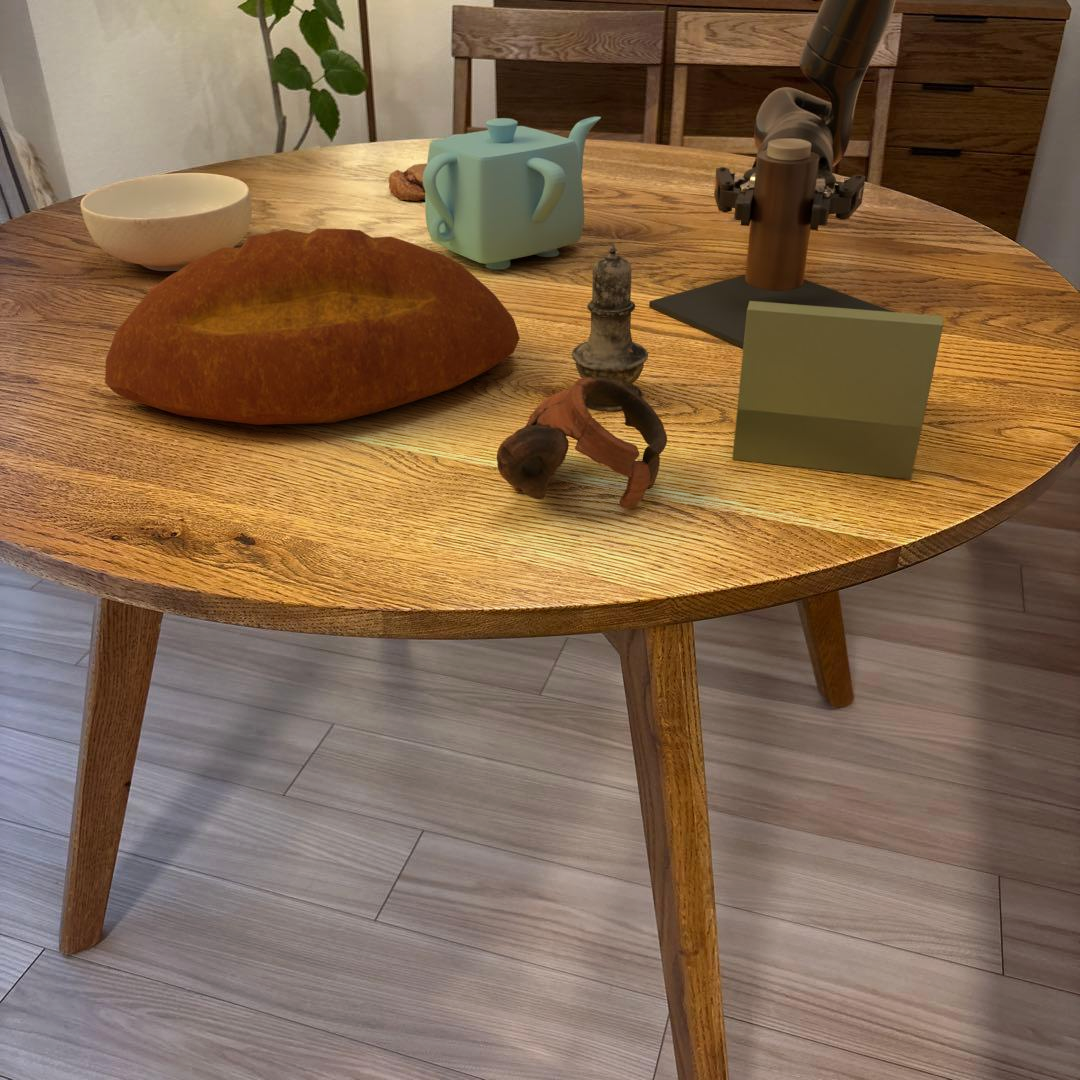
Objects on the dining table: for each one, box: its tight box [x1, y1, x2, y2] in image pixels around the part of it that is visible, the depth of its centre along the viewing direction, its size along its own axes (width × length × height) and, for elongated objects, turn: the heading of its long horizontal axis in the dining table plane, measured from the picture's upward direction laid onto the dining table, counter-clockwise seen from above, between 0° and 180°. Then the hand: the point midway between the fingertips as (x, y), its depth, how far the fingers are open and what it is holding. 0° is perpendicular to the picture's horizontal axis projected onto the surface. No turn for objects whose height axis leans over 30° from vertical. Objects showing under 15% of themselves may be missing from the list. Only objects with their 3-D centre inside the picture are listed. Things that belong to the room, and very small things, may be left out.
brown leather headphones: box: [496, 376, 668, 510], centre depth 68 cm, size 12×10×8 cm
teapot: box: [423, 116, 602, 271], centre depth 109 cm, size 18×16×14 cm
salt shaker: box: [571, 244, 649, 412], centre depth 78 cm, size 6×6×12 cm
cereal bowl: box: [80, 172, 253, 272], centre depth 109 cm, size 17×17×7 cm
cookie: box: [388, 163, 427, 202], centre depth 132 cm, size 10×11×3 cm
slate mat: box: [648, 273, 895, 349], centre depth 96 cm, size 16×16×1 cm
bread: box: [104, 228, 521, 426], centre depth 81 cm, size 21×33×12 cm, turn 100°
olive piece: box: [731, 301, 944, 480], centre depth 73 cm, size 12×12×11 cm
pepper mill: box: [744, 138, 820, 291], centre depth 91 cm, size 5×5×12 cm
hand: (780, 216), depth 89 cm, fingers closed on pepper mill, 5 cm apart
